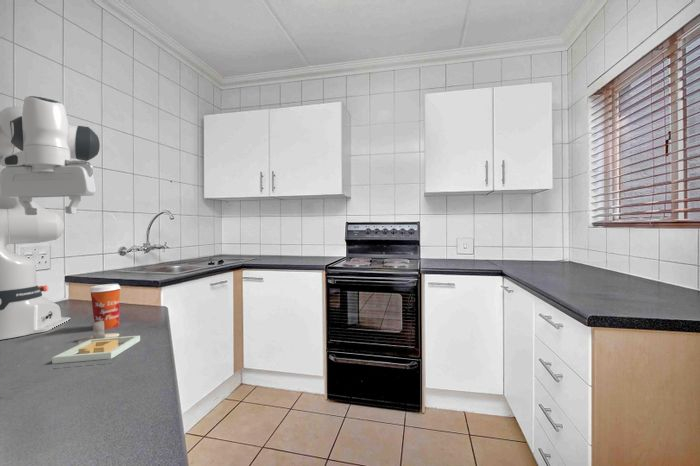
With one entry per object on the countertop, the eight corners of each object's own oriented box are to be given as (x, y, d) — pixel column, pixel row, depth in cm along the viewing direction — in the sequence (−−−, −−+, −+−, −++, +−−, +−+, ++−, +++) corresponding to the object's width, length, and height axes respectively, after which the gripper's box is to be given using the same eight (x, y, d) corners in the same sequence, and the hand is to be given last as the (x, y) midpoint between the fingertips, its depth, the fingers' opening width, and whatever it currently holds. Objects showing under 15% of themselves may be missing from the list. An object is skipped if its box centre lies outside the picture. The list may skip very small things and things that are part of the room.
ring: (94, 351, 79) (94, 341, 79) (118, 349, 79) (117, 339, 79) (74, 362, 72) (73, 351, 72) (100, 359, 73) (99, 349, 73)
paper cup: (96, 336, 93) (93, 288, 92) (88, 332, 97) (85, 286, 97) (127, 329, 99) (124, 284, 99) (118, 325, 103) (116, 282, 103)
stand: (92, 338, 91) (91, 319, 91) (126, 336, 92) (125, 316, 92) (68, 350, 82) (67, 328, 82) (106, 347, 83) (105, 325, 83)
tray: (90, 349, 82) (90, 339, 82) (140, 344, 83) (140, 335, 83) (52, 368, 70) (51, 357, 70) (111, 363, 71) (111, 352, 71)
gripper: (99, 162, 87) (102, 213, 87) (16, 164, 84) (19, 216, 85) (83, 157, 80) (86, 211, 81) (-8, 158, 78) (-5, 215, 78)
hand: (51, 214), depth 83 cm, fingers open, 8 cm apart
